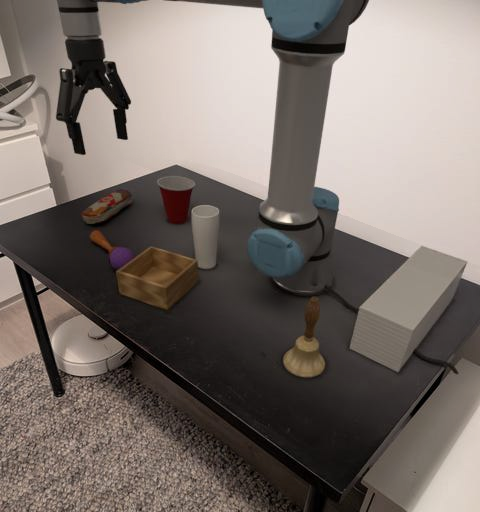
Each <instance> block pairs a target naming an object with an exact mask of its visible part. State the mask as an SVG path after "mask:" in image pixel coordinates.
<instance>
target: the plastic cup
mask: <svg viewBox="0 0 480 512" xmlns="http://www.w3.org/2000/svg"><path fill="white" fill-rule="evenodd" d="M156 183H157V185H158V187H159V192H160V194H161V199H162V203H163V204H162V205H163V208H164V211H165V215H166V219H167V221H168V223H170V224H172V225H173V224H174V225H181V224H185V223H186V222H187V221H188V217H189V212H190V204H191V198H192V193H193V189H194V188H195V187H196V182H195V181H194V180H193V179H191V178H189V177H185V176H179V175H168V176H167V175H166V176H162V177H160V178H158V179H157V181H156Z"/></svg>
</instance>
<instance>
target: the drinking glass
mask: <svg viewBox="0 0 480 512" xmlns="http://www.w3.org/2000/svg"><path fill="white" fill-rule="evenodd" d="M190 217H191V222H190V223H191V232H192V240H193V247H194V249H193V250H194V257H195V258H194V259H195V260H198V269H202V270H212V269H214V268H215V267H216V265H217V256H218V248H219V247H218V246H219V245H218V244H219V238H220V237H219V236H220V228H221V227H220V224H221V223H220V222H221V221H220V220H221V218H220V210H219V208H218V207H216V206H213V205H209V204H201V205H197V206H195V207H193V208H192V209H191V216H190Z"/></svg>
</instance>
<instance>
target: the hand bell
mask: <svg viewBox="0 0 480 512" xmlns="http://www.w3.org/2000/svg"><path fill="white" fill-rule="evenodd" d="M320 315H321V305H320V301H319V297H318V296H310V300H309V302H308V303H307V305H306V307H305V311H304V321H305V330H304V333H303V334H304V335H301V336H299V337H297V339H296V340H295V343H294V345H293V347H292V348H290V349H289V350H288V351H286V352H285V354H284V355H283V358H282V364H283V366H284V368H285V369H286V370H287V371H288V372H289V373H290V374H292V375H294V376H296V377H300V378H305V379H307V378H308V379H309V378H314V377H317V376H319V375H321V374H322V373H323V372H324V370H325V368H326V362H325V359H324V357H323V355H322V354H321V353H320V343H319V341H318V339H316V338H315V337H314V333H315V327H316V325H317V323H318V321H319V319H320Z"/></svg>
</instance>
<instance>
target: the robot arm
mask: <svg viewBox="0 0 480 512" xmlns="http://www.w3.org/2000/svg"><path fill="white" fill-rule="evenodd" d="M147 1H148V0H56V2H57V6H58V13H59V17H60V18H59V19H60V23H61V24H60V25H61V29H62V34H63V36H64V37H66V39H65V41H64V44H65V50H66V55H67V59H68V60H69V62H70V64H71V68H66V67H65V68H64V67H61V68H59V70H58V72H59V80H60V81H59V89H58V97H57V104H56V105H57V106H56V113H55V119H56V121H58V122H63V123H64V124H65V125H66V130H67V135H68V138H69V139H70V140H71V143H72V149H73V152H74V154H76V155H80V156H85V155H86V154H87V151H86V147H85V141H84V136H83V131H82V127H81V126H82V125H81V122H79V121H78V117H79V114H80V111H81V108H82V106H83V102H84V100H85V97H86V94H88V93H89V91H93V90H94V89H99V90H101V92H102V93H103V94H104V95H105V97H107V99H108V101H110V103H111V104H112V105H113V106H114V108H113V109H112V113H113V119H114V125H115V131H116V132H115V133H116V138H117V139H118V140H123V141H127V140H129V137H128V130H127V129H128V128H127V121H128V119H127V110H129V108H130V105H131V104H132V100H131V97H130V96H129V93H128V91H127V89H126V87H125V85H124V83H123V81H122V79H121V77H120V75H119V72H118V68H117V64H116V63H117V62H116V61H112V60H105V59H106V51H105V50H106V48H105V44H104V40H103V38H101V36H102V35H103V29H102V24H101V17H100V12H99V11H100V9H99V4H98V3H115V4H116V3H117V4H121V5H126V4H135V3H140V2H147ZM164 1H167V2H182V3H195V4H206V5H217V6H219V5H220V6H229V7H241V8H252V9H261V10H262V9H263V13H264V17H265V19H266V20H267V21H268V24H269V26H270V28H271V30H272V32H271V43H270V48H271V50H272V51H273V53H274V54H275V55H276V57H277V59H278V62H279V63H278V64H279V65H278V74H277V75H278V77H277V88H276V89H277V90H276V99H275V110H274V121H273V130H272V131H273V132H272V142H271V143H272V145H271V154H270V155H271V157H270V168H269V179H268V189H267V198H266V199H264V200H263V201H262V202H260V204H259V207H258V208H259V209H258V215H257V217H258V218H257V227H256V229H255V230H254V231H253V232H252V233H251V234H250V236H249V238H248V240H247V243H246V244H247V245H246V250H247V255H248V257H249V260H250V261H251V263H252V264H253V265H254V266H255V267H256V269H257V270H258V271H259V272H260V273H262V274H263V275H265V276H266V277H269V278H271V281H272V284H273V285H274V286H275V287H277V288H278V289H279V291H280V290H281V291H282V292H284V293H287V294H288V295H289V294H290V295H292V296H297V297H313V296H315V297H317V296H319V295H322V294H325V293H327V292H328V291H329V292H330V293H331V294H332V295H333V296H334V297H336V298H337V299H339V301H341V302H342V303H343V304H344V305H345V306H346V307H347V308H349V309H351V310H352V311H354V312H356V313H358V312H359V308H356V307H355V306H353V305H352V304H350V303H349V302H348V301H347V300H346V299H345V298H344V297H342V296H341V294H339V293H338V292H336V291H335V290H334V289H333V288H332V286H333V281H334V270H333V265H332V260H331V251H332V246H333V241H334V235H335V231H336V225H337V219H338V215H339V211H340V209H339V208H340V198H339V196H338V194H336V192H334V191H332V190H329V189H327V188H325V187H324V188H323V187H319V186H315V184H316V179H317V171H318V165H319V158H320V151H321V147H322V145H321V144H322V139H323V133H324V126H325V119H326V112H327V106H328V98H329V93H330V87H331V80H332V73H333V67H334V64H335V63H336V62H337V61H338V60H339V59H340V58H341V57H342V56H343V55H344V54H345V52H346V48H347V47H346V46H347V41H348V34H349V28H350V26H351V25H352V24H354V23H355V22H356V21H357V20H358V19H360V17H361V16H362V14H363V13H364V11H365V10H366V8H367V6H368V4H369V2H370V0H164ZM413 354H415V355H416V356H417V357H419V358H420V359H422V360H424V361H425V362H429V363H434V364H439V365H444V366H446V367H448V368H449V369H450V370H451V371H452V372H453V374H455V375H459V372H458V370H457V368H456V367H455V366H454V365H453V364H452V363H450V362H448V361H445V360H442V359H436V358H431V357H428V356H426V355H424V354H422V353H421V352H420V351H419V350H417V348H415V349H414V351H413Z"/></svg>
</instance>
